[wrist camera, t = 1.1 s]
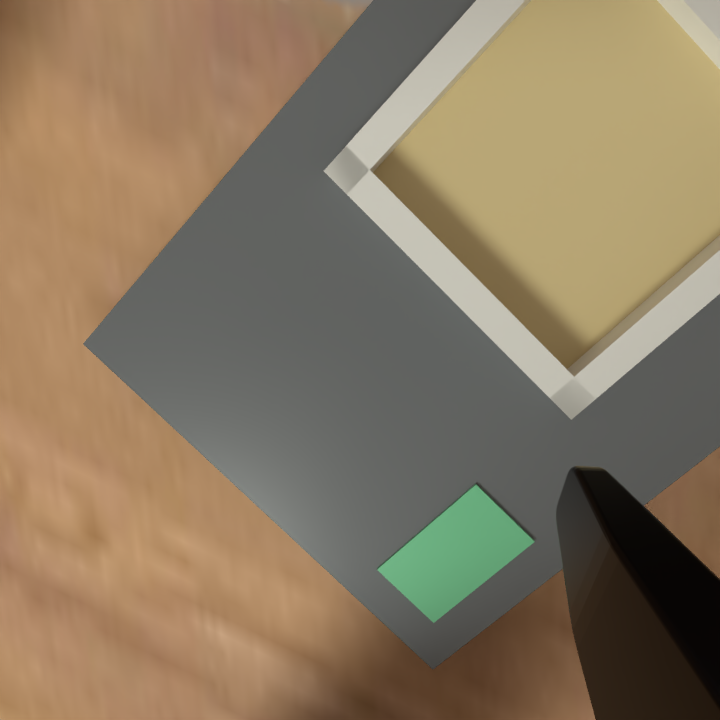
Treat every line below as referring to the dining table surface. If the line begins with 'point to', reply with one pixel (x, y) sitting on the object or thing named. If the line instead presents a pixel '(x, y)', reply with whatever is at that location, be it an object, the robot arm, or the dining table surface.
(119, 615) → the dining table surface
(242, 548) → the dining table surface
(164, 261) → the tester board
